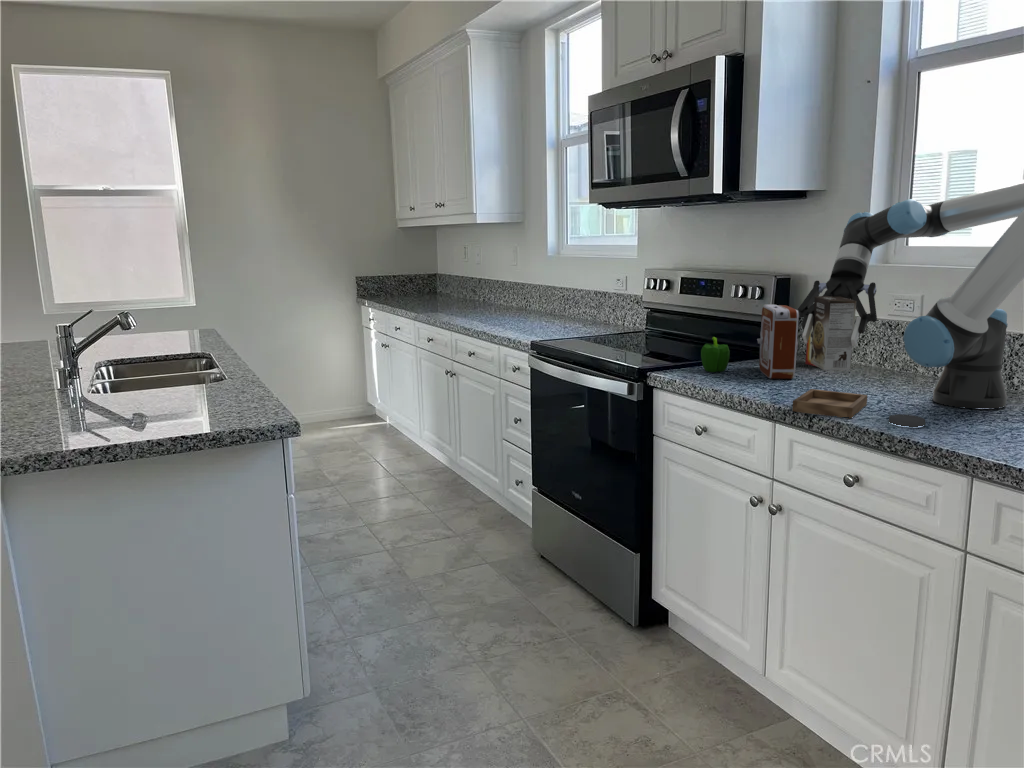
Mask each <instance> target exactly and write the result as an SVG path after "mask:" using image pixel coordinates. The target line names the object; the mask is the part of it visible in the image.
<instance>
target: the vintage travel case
mask: <svg viewBox="0 0 1024 768" xmlns="http://www.w3.org/2000/svg"><path fill="white" fill-rule="evenodd" d="M799 318H800V316H799V313H798V309H795V308H793V307H791V306H790V305H789V306H788V305H783V304H779V305H777V304H763V306H762V309H761V324H760V326H761V327H760V333H759V334H760V335H759V336H760V338H757V339H756V340H757V344H759V362H758V363H759V366H758V367H759V370H760V372H761V373H762V374H763V375H765V376H766V377H767V378H768V379H769V380H792V379H794V378H795V375H796V373H795V372H796V363H797V362H796V361H797V352H798V347H799V343H798V330H799V329H798V328H799Z"/></svg>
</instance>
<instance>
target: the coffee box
mask: <svg viewBox="0 0 1024 768" xmlns="http://www.w3.org/2000/svg"><path fill="white" fill-rule="evenodd" d="M814 298H815V300H814V303H813V304H814V316H813V333H812V349H811V363H812V364H814V365H815V366H814V367H817V368H819V369H821V370H822V371H851V369H852V355H853V347H852V343H851V337H852V333H853V330H854V326H855V323H856V312H857V310H856V301H855V300H851V299H848V298H844V297H841V296H838V297H833V296H823V295H819V296H816V297H814Z"/></svg>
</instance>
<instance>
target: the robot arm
mask: <svg viewBox="0 0 1024 768" xmlns="http://www.w3.org/2000/svg"><path fill="white" fill-rule="evenodd" d="M1014 218H1016V219H1014ZM1009 219H1014V221H1012V223H1011V224H1010V226H1009V227H1008V228H1007V229H1006V231H1004V233H1003V234H1002V235H1001V236H1000V238H999V239H998V240H997V241H995V243H994V245H993V246H992V247H991V248H990V249H989V251H988V252H987V253H986V254H985V255H984V257H983V258H982V259H980V261H979V262H978V263H977V265H976V266H975V267H974V269H973V270H972V271H971V272H970V273H969V275H967V277H966V278H965V279H964V280H963V282H962V283H961V284H960V285H959V287H957V289H956V290H955V291H954V292H953V293H952V295H951V296H948V297H947V296H946V297H941V298H940V299H938V300H937V301H936V303H935V304H934V305H933V306H932V307H931V309H930V310H928V312H927V313H926V314H925V315H920V316H918V317H916V318H914V319H912V320H911V321H910V322H909V323H908V324H907V325H906V327H905V330H904V332H903V340H902V341H903V343H904V345H903V346H904V350H905V352H906V354H907V356H908V357H909V358H910V359H911V360H912V362H914V363H916V364H917V365H919V366H922V367H925V368H942V367H943V370H942V372H941V374H940V376H939V378H938V380H937V383H936V385H935V386H934V389H933V394H932V401H933V402H934V403H937V404H940V405H943V404H944V405H943V406H947V405H949V407H952V406H955V407H954V408H958V407H965V408H964V409H966V408H999V407H1003V406H1005V405H1006V406H1007V401H1008V395H1007V391H1006V389H1005V383H1004V380H1003V375H1002V367H1003V366H1002V365H1003V359H1004V353H1005V342H1006V336H1007V327H1008V314H1007V311H1005V310H1004V309H1002V308H999V307H1000V305H1001V304H1002V303H1003V302H1005V300H1006V299H1007V298H1008V297H1009V296H1010V295H1011V294H1012V292H1013V291H1014V290H1015V289H1016V288H1017V286H1019V285H1020V283H1021V282H1022V281H1023V280H1024V179H1022V180H1018V181H1015V182H1010V183H1007V184H1003V185H1000V186H995V187H992V188H987V189H985V190H981V191H976V192H973V193H970V194H966V195H962V196H958V197H954V198H949V199H947V200H943V201H939V202H935V203H932V204H924V205H923V204H922V203H921V202H919V201H917V199H913V198H908V199H905V200H903V201H899V202H896V203H895V204H893V205H892V206H891V205H890V206H889V207H887V208H885V209H882V210H881V211H878V212H877V213H875V214H874V213H872V212H867V211H864V212H857V213H855V214H852V215H851V216H850V217H849V218H848V221H847V223H846V226H845V228H844V229H843V235H842V238H841V241H840V244H839V248H838V252H837V254H836V257H835V261H834V264H833V267H832V270H831V273H830V277H829V279H828V281H826V282H820V280H815V281H814V283H813V287H812V288H811V290H810V291H809V292H808V294H807V296H806V297H805V298H804V299H803V301H802V303H801V304H800V305H799V307H798V308H797V310H798V313H799V318H802V322H801V327H802V330H803V332H802V335H801V336H802V340H803V343H805V344H807V342H808V339H809V336H810V333H811V330H812V326H813V316H814V300H815V298H814V297H816V296H820V294H822V293H823V291H824V290H825V289H826V291H824V294H823V295H822V296H833V297H838V296H841V297H844V298H848V299H851V300H855V301H856V313H858V316H857V317H856V318H855V324H854V330H853V333H852V337H851V343H852V348H855V347H856V348H857V343H858V340H859V336H860V334H862V335H863V334H865V332H866V329H867V325H868V323H869V322H873V323H876V322H877V321H878V316H877V309H876V307H877V306H876V299H875V296H876V293H877V284H876V282H870V284H866V283H864V282H865V279H866V276H867V271H868V268H869V265H870V262H871V259H872V254H873V251H874V249H875V248H878V247H880V246H883V245H885V244H887V243H889V242H892V241H895V240H898V239H906V238H907V239H909V238H925V237H926V238H936V237H942V236H945V235H947V234H948V233H950V232H954V231H955V232H956V231H959V230H964V229H967V228H973V227H978V226H983V225H986V224H991V223H996V222H1000V221H1005V220H1009ZM863 291H865V294H866V295H867V298H868V305H869V312H867V311H866V309H865V308H864V305H863V304H862V302H861V299H860V297H859V296H858V295H859V294H861V292H863ZM1006 406H1005V407H1006Z"/></svg>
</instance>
